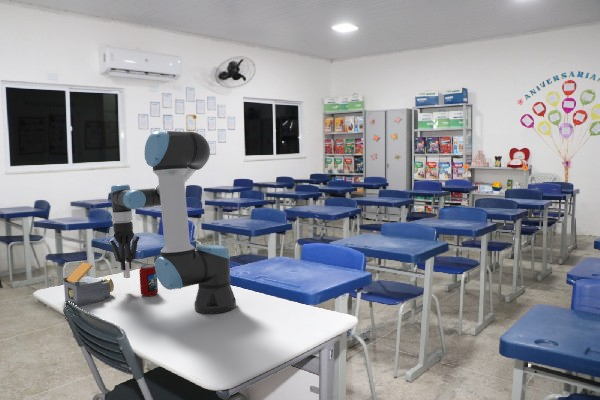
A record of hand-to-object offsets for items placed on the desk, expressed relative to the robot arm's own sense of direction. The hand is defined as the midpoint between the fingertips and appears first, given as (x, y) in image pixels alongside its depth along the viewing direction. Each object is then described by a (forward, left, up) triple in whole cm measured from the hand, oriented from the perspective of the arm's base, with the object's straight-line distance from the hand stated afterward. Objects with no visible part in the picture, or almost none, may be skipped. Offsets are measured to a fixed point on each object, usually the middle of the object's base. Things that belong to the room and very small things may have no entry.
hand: (126, 277), depth 204 cm
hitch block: (+1, +16, -6) cm, 17 cm away
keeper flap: (+1, +19, +5) cm, 19 cm away
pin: (+1, +15, -5) cm, 16 cm away
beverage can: (-12, -3, -6) cm, 14 cm away
